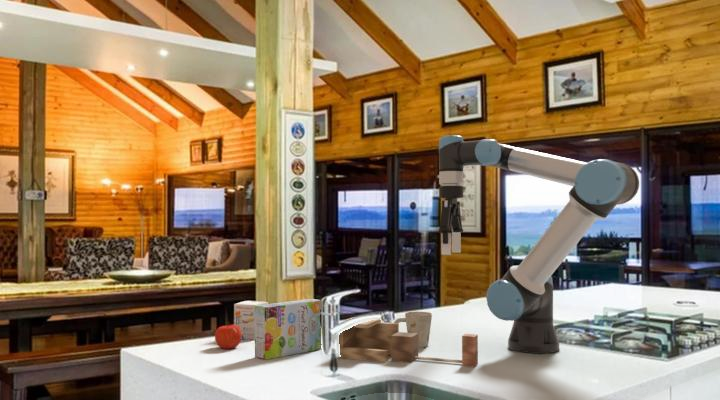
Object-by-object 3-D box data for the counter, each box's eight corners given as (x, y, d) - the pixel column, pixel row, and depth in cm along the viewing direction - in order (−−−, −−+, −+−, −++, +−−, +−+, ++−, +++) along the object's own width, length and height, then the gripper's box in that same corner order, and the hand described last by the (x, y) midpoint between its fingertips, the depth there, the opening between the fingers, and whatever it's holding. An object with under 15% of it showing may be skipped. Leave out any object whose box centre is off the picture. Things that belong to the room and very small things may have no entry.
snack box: (310, 347, 199) (310, 298, 199) (322, 349, 195) (322, 299, 195) (253, 357, 184) (253, 304, 184) (265, 360, 180) (265, 306, 180)
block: (478, 363, 177) (478, 333, 177) (474, 367, 171) (474, 337, 171) (398, 356, 185) (398, 328, 186) (391, 360, 180) (391, 331, 180)
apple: (246, 347, 198) (247, 321, 198) (225, 351, 192) (225, 324, 192) (231, 344, 203) (231, 318, 203) (209, 348, 197) (209, 321, 197)
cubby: (398, 354, 188) (398, 320, 188) (386, 362, 178) (386, 325, 178) (352, 350, 193) (352, 317, 194) (338, 357, 183) (338, 322, 183)
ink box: (232, 338, 213) (233, 303, 213) (246, 334, 221) (246, 300, 221) (255, 340, 210) (255, 304, 210) (268, 336, 217) (268, 301, 218)
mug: (430, 348, 196) (430, 315, 196) (389, 347, 199) (389, 314, 199) (433, 343, 204) (433, 311, 205) (393, 342, 207) (393, 310, 207)
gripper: (448, 187, 214) (449, 251, 213) (428, 183, 191) (429, 255, 190) (471, 187, 211) (471, 251, 211) (453, 183, 188) (454, 256, 187)
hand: (451, 253), depth 200 cm, fingers open, 13 cm apart
